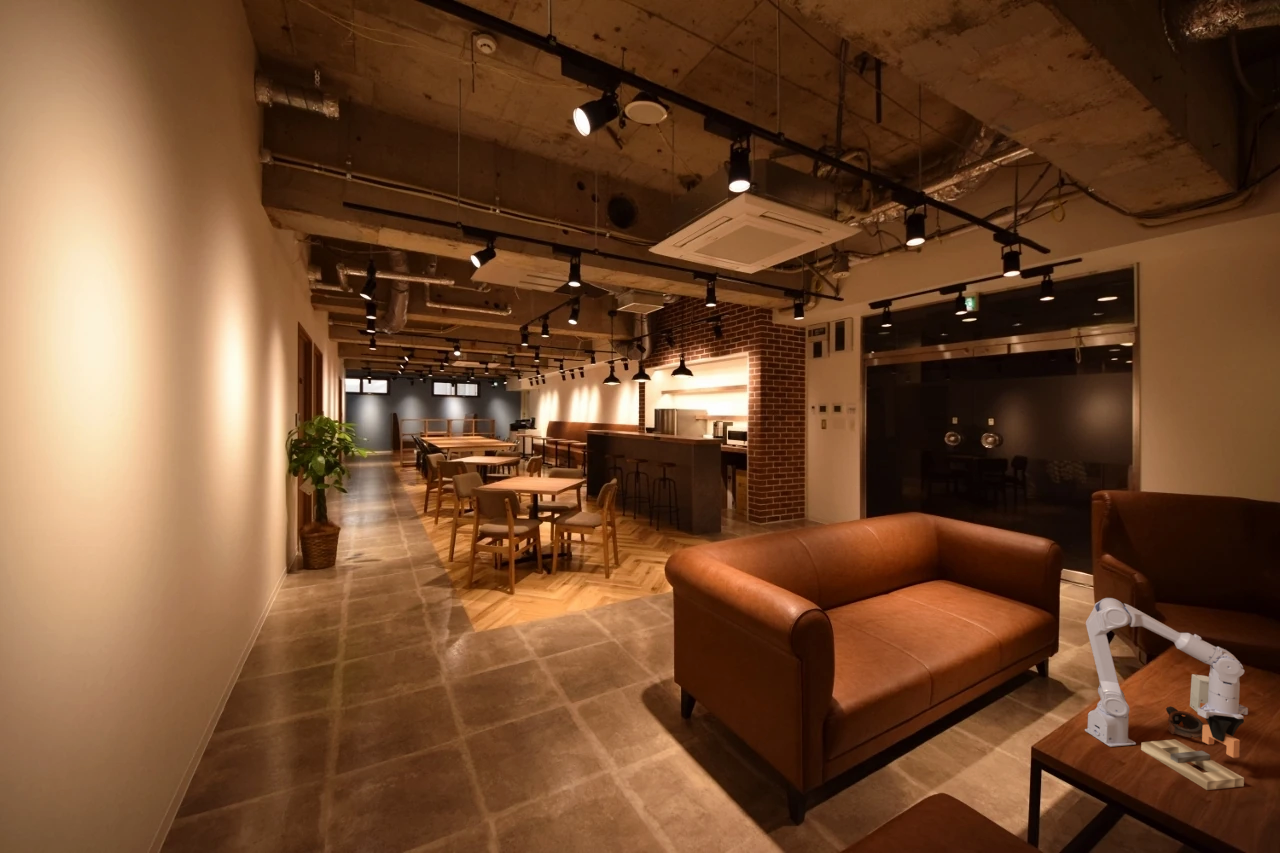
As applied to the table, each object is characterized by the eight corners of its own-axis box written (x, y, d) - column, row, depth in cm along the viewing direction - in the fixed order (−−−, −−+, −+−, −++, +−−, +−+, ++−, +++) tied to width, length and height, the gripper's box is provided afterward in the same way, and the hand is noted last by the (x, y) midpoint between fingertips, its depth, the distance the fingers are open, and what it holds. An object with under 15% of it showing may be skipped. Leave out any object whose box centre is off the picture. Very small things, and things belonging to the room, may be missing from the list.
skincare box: (1197, 713, 168) (1199, 679, 168) (1189, 706, 172) (1190, 673, 172) (1221, 717, 166) (1223, 683, 166) (1212, 710, 170) (1214, 677, 170)
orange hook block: (1233, 757, 138) (1233, 740, 138) (1202, 741, 145) (1202, 724, 145) (1239, 757, 139) (1239, 740, 138) (1207, 740, 146) (1208, 724, 145)
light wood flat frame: (1206, 790, 134) (1207, 776, 134) (1141, 749, 150) (1141, 737, 150) (1243, 786, 136) (1244, 772, 136) (1174, 746, 152) (1175, 734, 152)
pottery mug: (1220, 746, 153) (1216, 727, 151) (1188, 755, 154) (1183, 737, 152) (1182, 713, 164) (1177, 696, 162) (1152, 722, 166) (1146, 705, 164)
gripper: (1220, 703, 136) (1218, 750, 137) (1263, 699, 138) (1261, 746, 139) (1189, 689, 143) (1187, 733, 144) (1230, 685, 145) (1228, 729, 146)
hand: (1221, 738), depth 142 cm, fingers closed on orange hook block, 2 cm apart
